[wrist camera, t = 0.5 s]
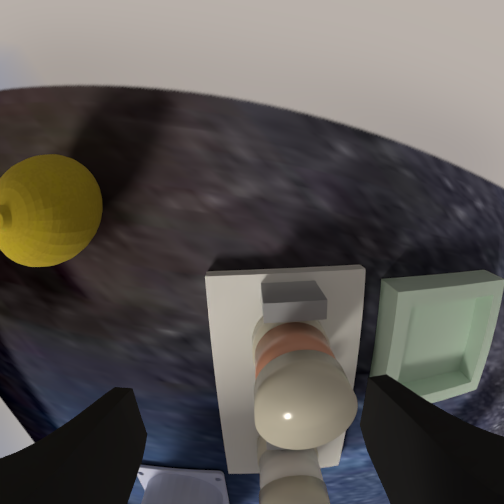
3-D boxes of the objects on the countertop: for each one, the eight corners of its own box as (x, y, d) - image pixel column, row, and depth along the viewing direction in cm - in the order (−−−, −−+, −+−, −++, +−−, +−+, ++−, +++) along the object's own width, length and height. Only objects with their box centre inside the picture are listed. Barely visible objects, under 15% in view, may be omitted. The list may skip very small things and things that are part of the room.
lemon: (98, 140, 16) (14, 122, 9) (139, 219, 18) (68, 248, 10) (37, 189, 17) (-51, 201, 9) (73, 262, 18) (-6, 307, 10)
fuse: (311, 455, 21) (326, 526, 14) (257, 459, 21) (260, 532, 14) (316, 419, 20) (336, 496, 13) (255, 424, 20) (258, 504, 13)
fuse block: (335, 457, 22) (345, 491, 18) (228, 465, 22) (227, 501, 18) (360, 264, 18) (386, 285, 14) (207, 271, 18) (196, 295, 14)
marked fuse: (320, 364, 19) (350, 443, 12) (253, 369, 19) (256, 452, 12) (324, 303, 18) (364, 369, 11) (250, 307, 18) (252, 379, 11)
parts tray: (461, 373, 21) (476, 389, 18) (366, 394, 20) (376, 415, 18) (484, 269, 19) (505, 279, 16) (381, 278, 19) (398, 292, 16)
